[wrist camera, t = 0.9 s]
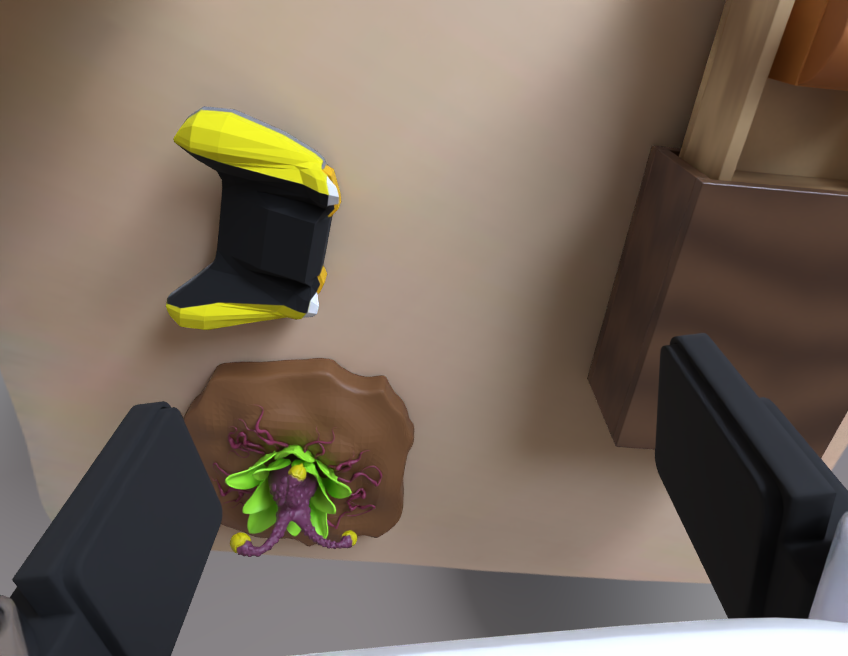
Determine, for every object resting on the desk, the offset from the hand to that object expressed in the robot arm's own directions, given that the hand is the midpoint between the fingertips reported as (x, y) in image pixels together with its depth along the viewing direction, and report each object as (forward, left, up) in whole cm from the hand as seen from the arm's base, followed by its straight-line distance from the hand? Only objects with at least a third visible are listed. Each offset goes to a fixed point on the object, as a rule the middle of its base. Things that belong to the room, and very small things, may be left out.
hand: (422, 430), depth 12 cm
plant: (+29, -8, -31) cm, 43 cm away
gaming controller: (+8, -10, -31) cm, 34 cm away
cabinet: (+10, +23, -31) cm, 40 cm away
